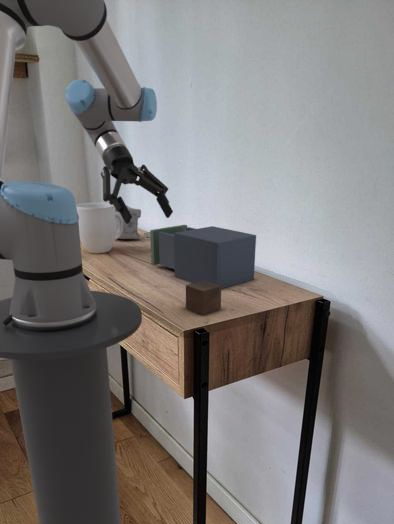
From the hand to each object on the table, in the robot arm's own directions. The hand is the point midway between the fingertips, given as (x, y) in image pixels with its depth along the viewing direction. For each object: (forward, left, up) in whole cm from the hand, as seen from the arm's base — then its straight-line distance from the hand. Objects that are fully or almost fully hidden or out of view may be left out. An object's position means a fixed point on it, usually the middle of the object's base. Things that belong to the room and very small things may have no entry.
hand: (150, 217), depth 129 cm
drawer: (+3, -11, -10) cm, 15 cm away
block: (-7, -42, -11) cm, 44 cm away
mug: (-9, +16, -11) cm, 22 cm away
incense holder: (+3, +29, -11) cm, 32 cm away
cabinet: (+6, -24, -11) cm, 27 cm away
